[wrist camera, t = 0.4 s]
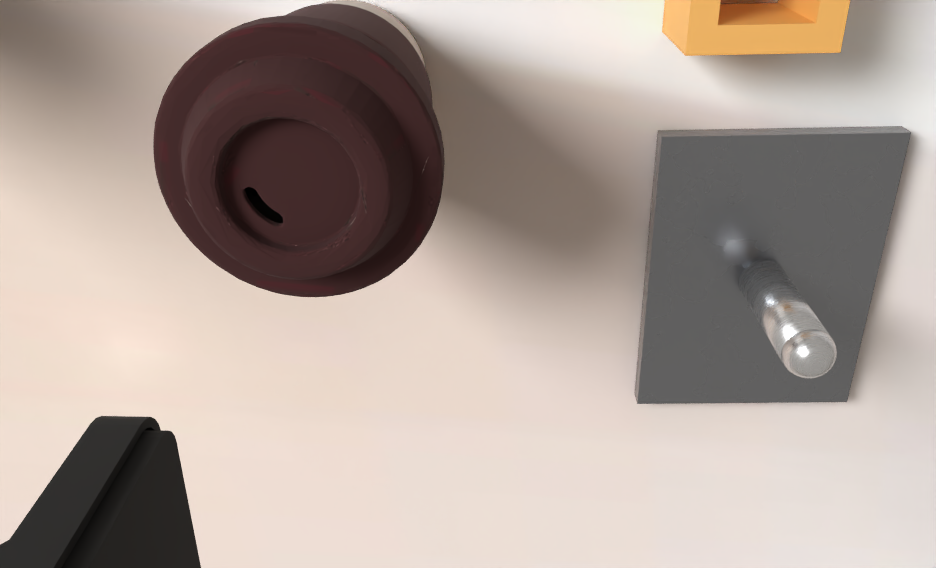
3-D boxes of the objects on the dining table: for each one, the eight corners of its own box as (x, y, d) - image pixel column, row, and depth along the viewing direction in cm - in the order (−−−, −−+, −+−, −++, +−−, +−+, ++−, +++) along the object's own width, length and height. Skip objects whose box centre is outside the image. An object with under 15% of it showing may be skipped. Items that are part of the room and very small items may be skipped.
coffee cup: (442, -44, 37) (419, 16, 24) (464, 163, 42) (456, 309, 29) (228, -21, 38) (92, 51, 25) (274, 180, 43) (180, 331, 29)
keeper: (657, 130, 41) (701, 200, 33) (901, 126, 41) (1006, 196, 32) (634, 393, 48) (665, 503, 40) (840, 391, 48) (912, 502, 40)
